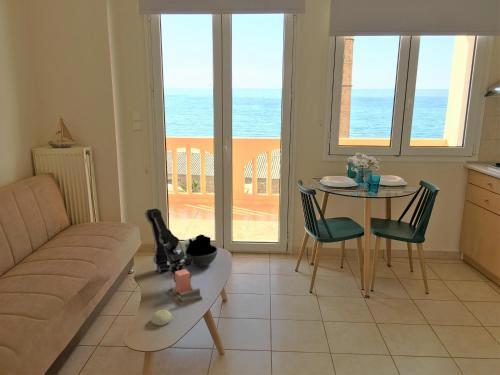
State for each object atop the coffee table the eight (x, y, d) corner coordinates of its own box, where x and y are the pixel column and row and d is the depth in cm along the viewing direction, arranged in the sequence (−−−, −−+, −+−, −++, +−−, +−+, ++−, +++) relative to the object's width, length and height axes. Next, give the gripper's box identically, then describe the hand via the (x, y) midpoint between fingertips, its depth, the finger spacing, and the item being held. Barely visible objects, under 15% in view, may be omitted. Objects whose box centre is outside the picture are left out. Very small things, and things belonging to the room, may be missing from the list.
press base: (168, 291, 207) (167, 281, 205) (188, 285, 213) (188, 275, 211) (180, 306, 192) (179, 295, 190) (202, 299, 198) (201, 289, 196)
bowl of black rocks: (218, 257, 249) (217, 230, 244) (217, 271, 229) (216, 242, 225) (188, 259, 248) (186, 231, 244) (184, 272, 229) (181, 243, 224)
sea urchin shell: (176, 317, 178) (164, 311, 174) (166, 332, 177) (153, 326, 172) (168, 309, 186) (156, 302, 181) (158, 323, 184) (146, 317, 179)
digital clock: (183, 259, 248) (181, 244, 246) (177, 255, 255) (176, 240, 253) (205, 253, 256) (204, 238, 254) (199, 249, 264) (198, 235, 261)
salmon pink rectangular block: (176, 290, 204) (174, 271, 201) (186, 287, 207) (185, 268, 204) (180, 295, 199) (178, 276, 196) (191, 292, 202) (189, 273, 199)
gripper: (157, 251, 200) (166, 278, 194) (190, 243, 210) (200, 269, 203) (154, 260, 209) (162, 286, 202) (186, 252, 218) (195, 277, 211)
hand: (180, 279), depth 204 cm, fingers closed, pressing on salmon pink rectangular block
